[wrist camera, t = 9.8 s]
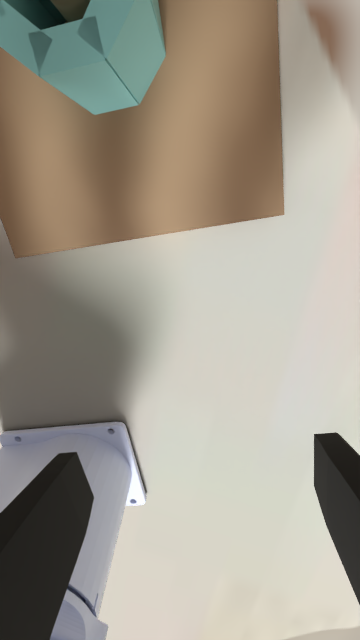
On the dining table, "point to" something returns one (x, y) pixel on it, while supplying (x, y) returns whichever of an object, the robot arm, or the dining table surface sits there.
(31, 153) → the brown piece
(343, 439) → the robot arm
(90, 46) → the teal bead
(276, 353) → the dining table surface
